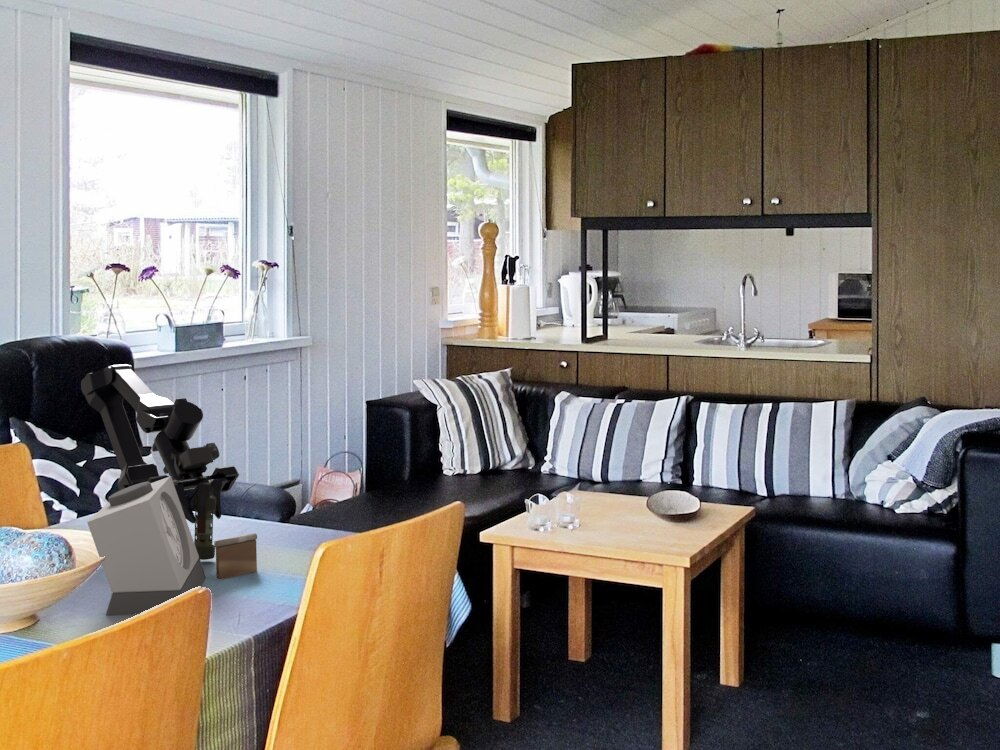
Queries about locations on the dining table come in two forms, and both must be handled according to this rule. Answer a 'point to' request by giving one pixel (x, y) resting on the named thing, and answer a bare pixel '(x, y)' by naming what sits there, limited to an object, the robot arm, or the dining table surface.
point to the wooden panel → (236, 556)
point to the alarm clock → (145, 547)
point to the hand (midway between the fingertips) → (207, 519)
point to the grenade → (203, 519)
